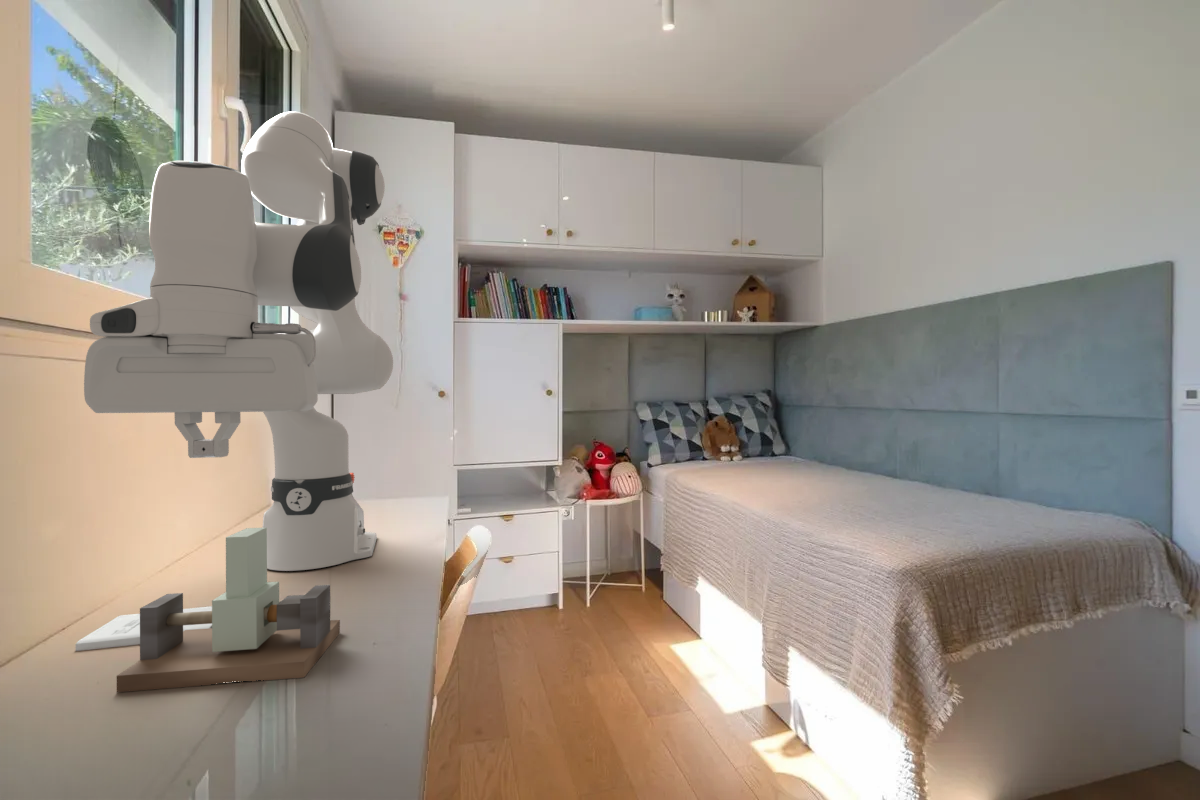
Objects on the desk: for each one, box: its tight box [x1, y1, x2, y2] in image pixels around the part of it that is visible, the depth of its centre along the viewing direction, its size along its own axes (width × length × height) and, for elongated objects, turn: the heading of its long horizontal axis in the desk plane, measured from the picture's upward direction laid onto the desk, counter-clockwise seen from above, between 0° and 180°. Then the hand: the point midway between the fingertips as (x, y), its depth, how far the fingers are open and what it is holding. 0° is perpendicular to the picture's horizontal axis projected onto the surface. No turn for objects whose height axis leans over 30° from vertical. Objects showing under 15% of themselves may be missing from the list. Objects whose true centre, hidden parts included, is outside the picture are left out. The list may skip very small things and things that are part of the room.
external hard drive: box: [75, 605, 212, 652], centre depth 62 cm, size 2×8×12 cm
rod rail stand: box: [116, 584, 341, 693], centre depth 55 cm, size 10×16×6 cm, turn 98°
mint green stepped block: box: [211, 527, 280, 652], centre depth 55 cm, size 5×4×11 cm
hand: (208, 457), depth 55 cm, fingers closed
